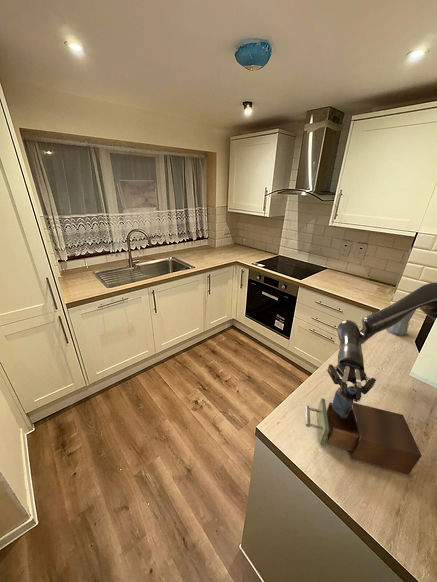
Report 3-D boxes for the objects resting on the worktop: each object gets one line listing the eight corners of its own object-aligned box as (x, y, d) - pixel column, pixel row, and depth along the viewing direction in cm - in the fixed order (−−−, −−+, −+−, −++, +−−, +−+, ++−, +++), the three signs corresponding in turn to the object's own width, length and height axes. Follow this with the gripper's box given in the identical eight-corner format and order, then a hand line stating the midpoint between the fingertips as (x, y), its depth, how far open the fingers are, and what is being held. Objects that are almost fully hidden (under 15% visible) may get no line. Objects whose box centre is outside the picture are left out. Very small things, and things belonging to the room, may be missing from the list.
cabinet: (352, 458, 69) (361, 438, 65) (344, 420, 80) (351, 402, 76) (408, 475, 66) (422, 455, 62) (392, 433, 77) (402, 414, 73)
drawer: (303, 439, 73) (308, 424, 70) (302, 409, 83) (306, 394, 80) (368, 458, 68) (376, 443, 65) (359, 423, 78) (365, 409, 75)
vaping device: (343, 420, 70) (353, 392, 64) (329, 406, 74) (337, 378, 68) (350, 416, 70) (359, 389, 65) (335, 403, 75) (343, 375, 69)
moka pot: (378, 329, 132) (391, 297, 123) (397, 324, 137) (410, 293, 129) (395, 338, 124) (410, 306, 115) (414, 333, 129) (429, 301, 121)
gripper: (330, 344, 80) (327, 378, 66) (377, 357, 75) (384, 398, 61) (325, 360, 83) (321, 396, 70) (370, 374, 78) (375, 417, 64)
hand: (350, 397), depth 65 cm, fingers closed on vaping device, 2 cm apart
